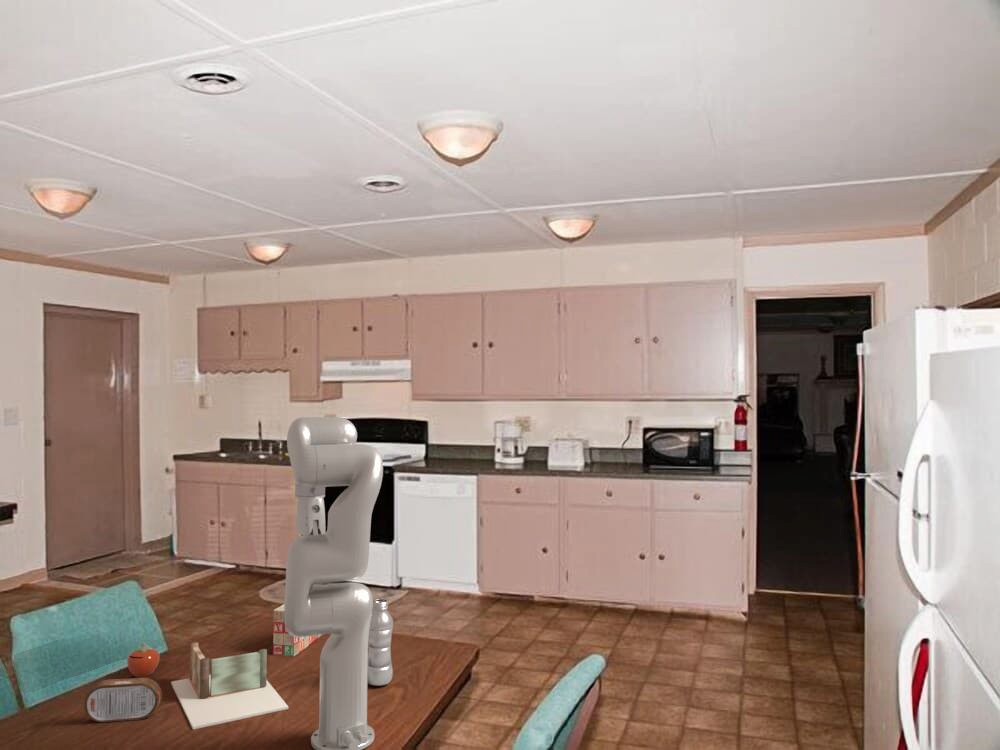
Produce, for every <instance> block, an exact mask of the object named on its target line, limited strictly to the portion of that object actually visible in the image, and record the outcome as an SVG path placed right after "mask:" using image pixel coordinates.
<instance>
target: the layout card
mask: <svg viewBox="0 0 1000 750" xmlns="http://www.w3.org/2000/svg"><path fill="white" fill-rule="evenodd" d="M170 684H171V686H172V689H173V691H174V693H175V695H176V698H177V699H178V701H179V704H180V705H181V707H182V709H183V712H184V714H185V716H186V717H187V720H188V722H189V725H190V727H191V729H192V730H198V729H202V728H206V727H207V728H208V727H211V726H215V725H221V724H225V723H230V722H234V721H238V720H239V721H240V720H244V719H247V718H253V717H256V716H257V717H258V716H261V715H267V714H271V713H277V712H280V711H285V710H289V706H288V704H287V703H286V702H285V701H284V699H283V698H282V697H281V695H280V694H279V693H278V692H277V691H276V690H275V688H274V687H273V686H272V684H271V683H270V682H269V681H268V679H266V686H265V687H258V688H253V689H248V690H242V691H237V692H231V693H226V694H220V695H215V696H211V695H210V686H211V673H209V697H208V698H206V699H200V694H199V692H198V690H197V688H196V687H195V685H194V683H193V681H192V680H190V677H188V678H184V679H178V680H173V681H171V682H170Z"/></svg>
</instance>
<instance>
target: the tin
mask: <svg viewBox="0 0 1000 750" xmlns="http://www.w3.org/2000/svg"><path fill="white" fill-rule="evenodd" d="M162 695H163V693H162V689H161V687H160V686H159V684H158V683H157V682H156V681H155V680H154V679H151V678H149V677H135V678H132V677H131V678H120V679H119V678H117V679H114V678H113V679H105V680H104V679H103V680H100V681H98V682H97V683H95V684H94V685H93V686H92V687H90V689H89V691H88V692H87V694H86V695H85V698H84V704H83V707H84V708H83V709H84V711H85V713H86V715H87V717H89V718H90V720H92V721H93V722H98V723H113V722H124V721H125V722H127V721H139V720H145V719H146V718H148V717H150V716H152V714H154V713H155V711H156V710H157V709H158V706H160V704H161V701H162Z"/></svg>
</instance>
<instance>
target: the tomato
mask: <svg viewBox="0 0 1000 750" xmlns="http://www.w3.org/2000/svg"><path fill="white" fill-rule="evenodd" d="M160 658H161V655H160V653H159V651H158V649H156V648H153V646H150V645H148V644H147V643H146V642H142V643H141V645H140V646H138V647H137V648H136V649H135V650H132V652H130V653H129V655H128V657H127V659H126V662H127V663H126V664H127V668H128V670H129V671H130V673H131V674H132V675H133V676H134V677H135V678H147V677H149V676H151V675H152V674H153V673H154V672H155V671H156V669H157V667H158V665H159V663H160V660H161V659H160Z"/></svg>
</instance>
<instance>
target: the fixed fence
mask: <svg viewBox="0 0 1000 750" xmlns="http://www.w3.org/2000/svg"><path fill="white" fill-rule="evenodd" d="M199 643H200V642H198V641H196V642H195V641H193V642H191V643H190V652H189V654H190V660H189V661H190V662H189V663H190V664H189V666H190V667H189V671H190V672H189V678H190V680H192V681H193V683H194V685H195V687H196V688H197V690H198V692H199V694H200V699H206V698H208V697H209V675H210V668H211V659H210V658H209V657H205V655H204V654H203V653H202V651H201V649H200V647H199Z"/></svg>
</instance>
